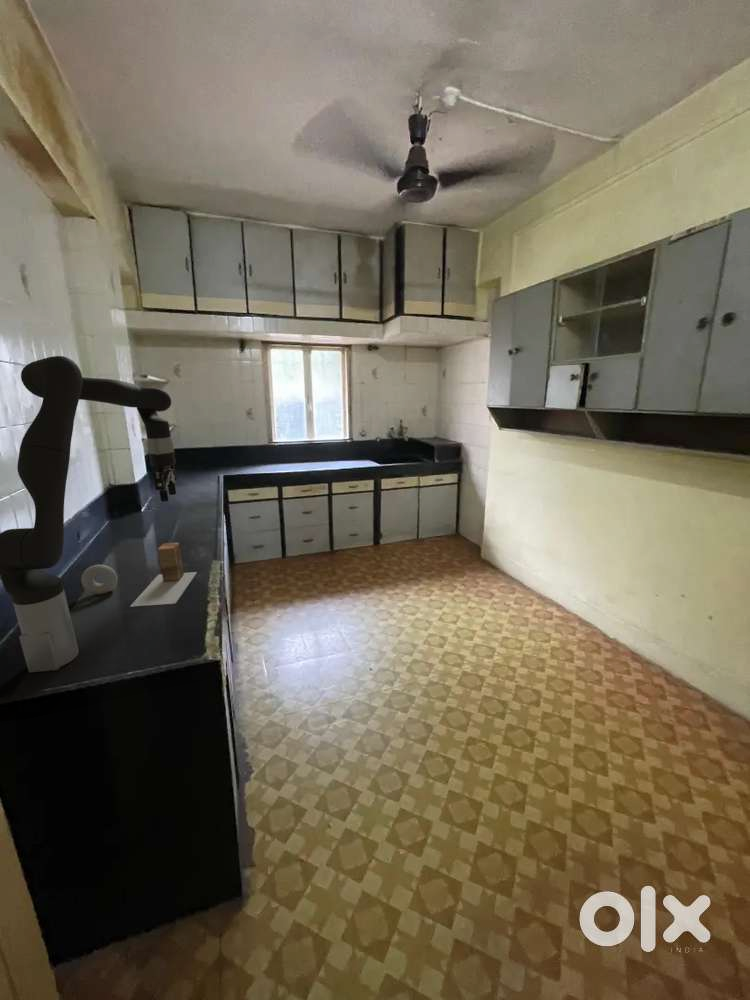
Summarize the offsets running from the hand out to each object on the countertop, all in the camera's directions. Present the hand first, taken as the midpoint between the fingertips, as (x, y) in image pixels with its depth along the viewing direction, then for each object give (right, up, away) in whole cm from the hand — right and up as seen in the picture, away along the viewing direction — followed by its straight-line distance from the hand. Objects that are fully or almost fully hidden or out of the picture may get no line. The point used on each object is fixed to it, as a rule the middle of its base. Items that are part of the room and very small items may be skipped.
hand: (169, 497), depth 139 cm
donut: (-17, -31, -9) cm, 36 cm away
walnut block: (+2, -28, -1) cm, 28 cm away
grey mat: (+3, -30, -7) cm, 31 cm away
